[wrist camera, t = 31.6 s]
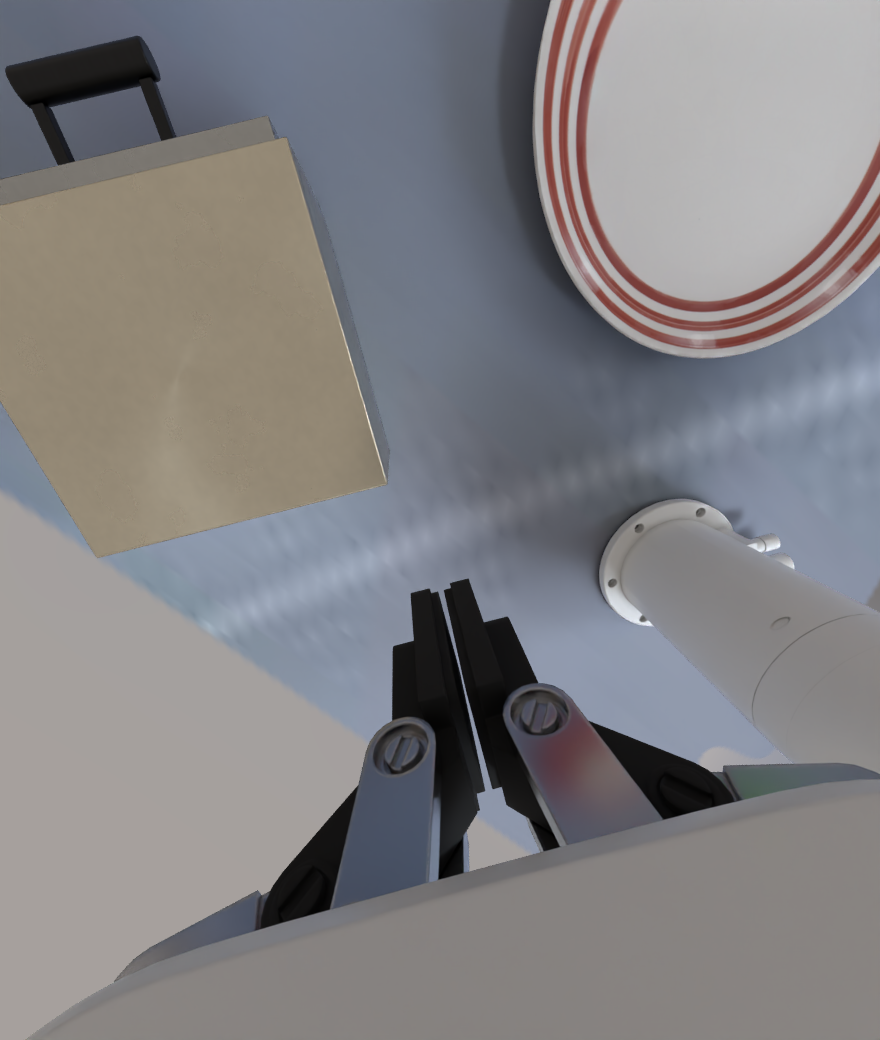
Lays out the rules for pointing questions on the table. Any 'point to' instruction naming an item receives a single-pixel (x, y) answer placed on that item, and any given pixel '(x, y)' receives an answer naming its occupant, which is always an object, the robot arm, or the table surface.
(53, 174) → the handled box
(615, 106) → the dinner plate
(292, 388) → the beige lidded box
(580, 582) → the table surface
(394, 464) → the table surface
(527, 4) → the table surface
